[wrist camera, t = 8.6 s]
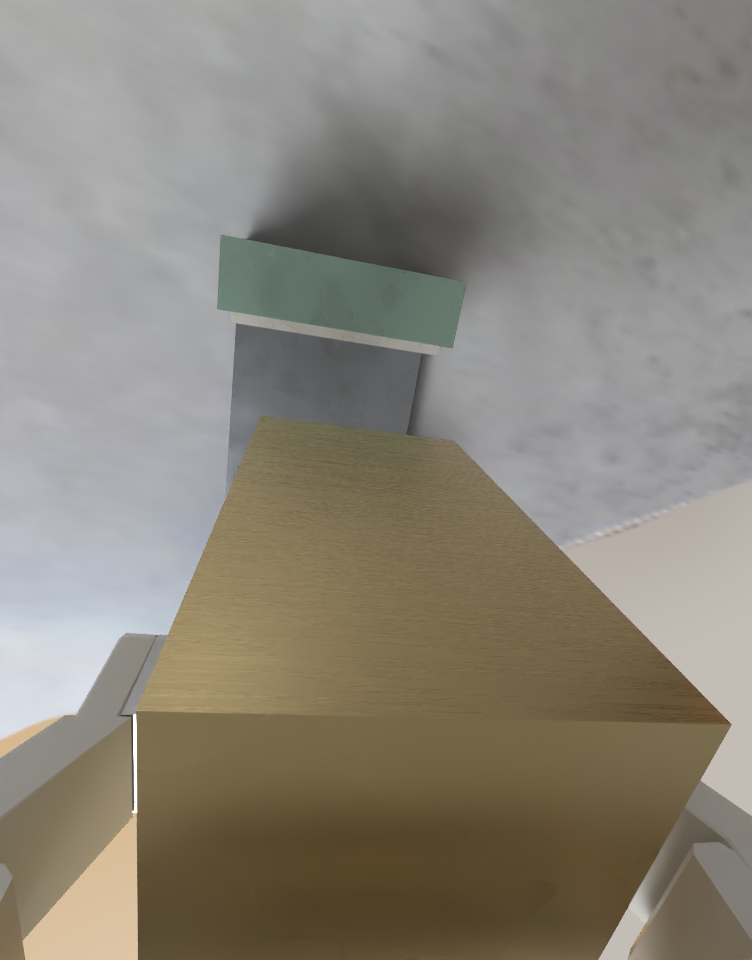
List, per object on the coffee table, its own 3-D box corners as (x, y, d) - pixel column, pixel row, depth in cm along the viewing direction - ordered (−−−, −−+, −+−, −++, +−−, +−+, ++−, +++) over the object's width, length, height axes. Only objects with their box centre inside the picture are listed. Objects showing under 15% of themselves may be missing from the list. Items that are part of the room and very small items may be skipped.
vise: (245, 241, 27) (221, 221, 20) (431, 277, 29) (468, 270, 22) (224, 562, 34) (202, 631, 27) (374, 574, 36) (389, 640, 29)
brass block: (239, 666, 13) (140, 1174, 5) (260, 415, 10) (135, 711, 3) (399, 672, 14) (505, 1122, 6) (454, 440, 11) (731, 725, 4)
